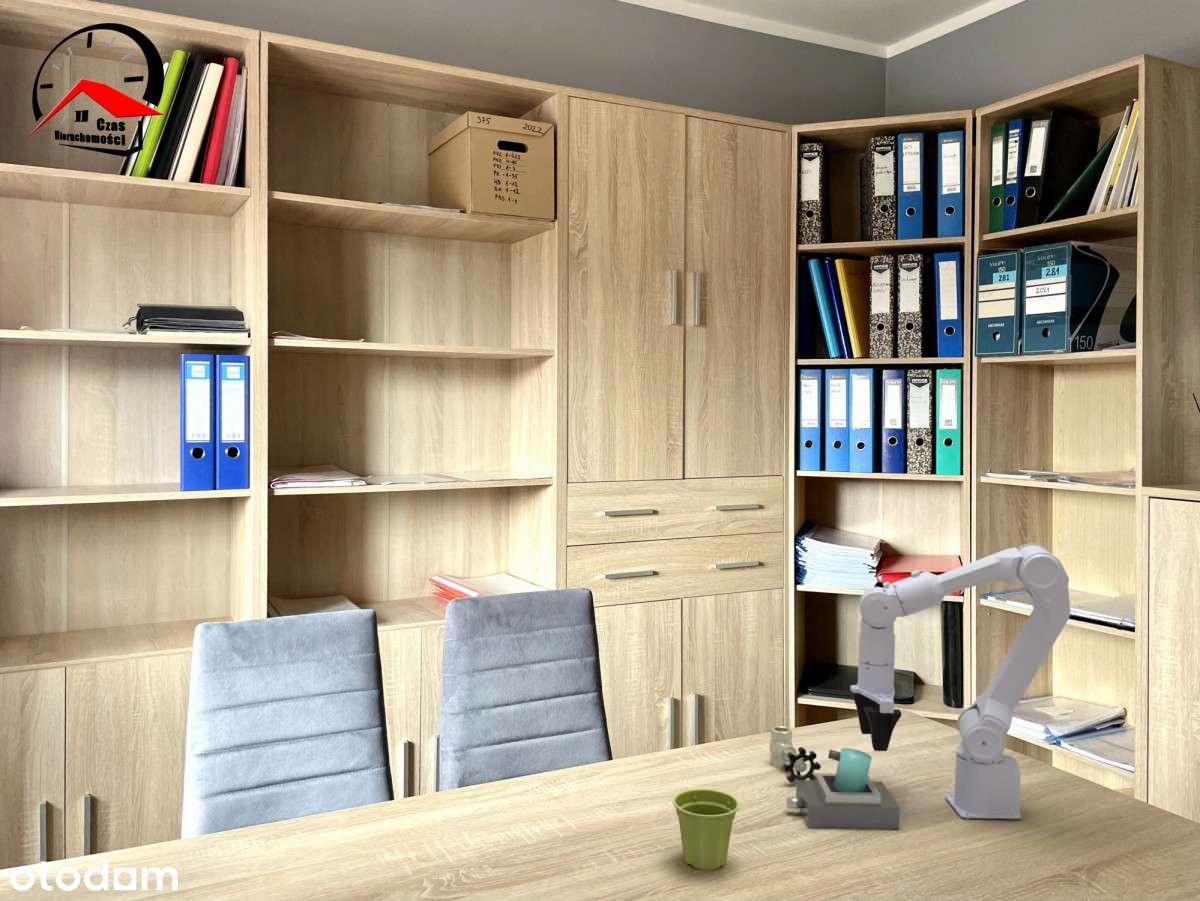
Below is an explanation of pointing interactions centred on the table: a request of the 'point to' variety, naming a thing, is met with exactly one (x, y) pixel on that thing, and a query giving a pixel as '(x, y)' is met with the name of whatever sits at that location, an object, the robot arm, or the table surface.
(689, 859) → the plant pot
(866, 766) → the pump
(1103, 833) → the table surface
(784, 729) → the valve
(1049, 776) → the table surface
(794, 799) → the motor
